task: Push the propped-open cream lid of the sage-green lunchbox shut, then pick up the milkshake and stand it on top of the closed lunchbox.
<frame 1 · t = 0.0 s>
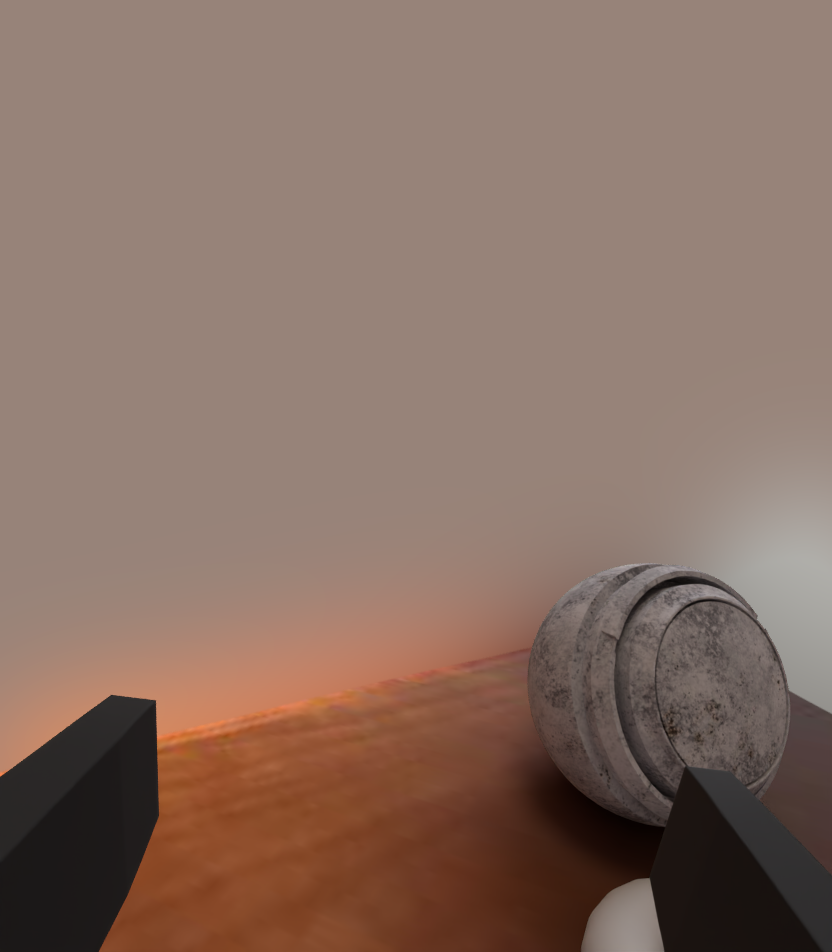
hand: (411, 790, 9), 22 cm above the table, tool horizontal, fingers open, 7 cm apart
decorative orb: (625, 791, 42), on the table
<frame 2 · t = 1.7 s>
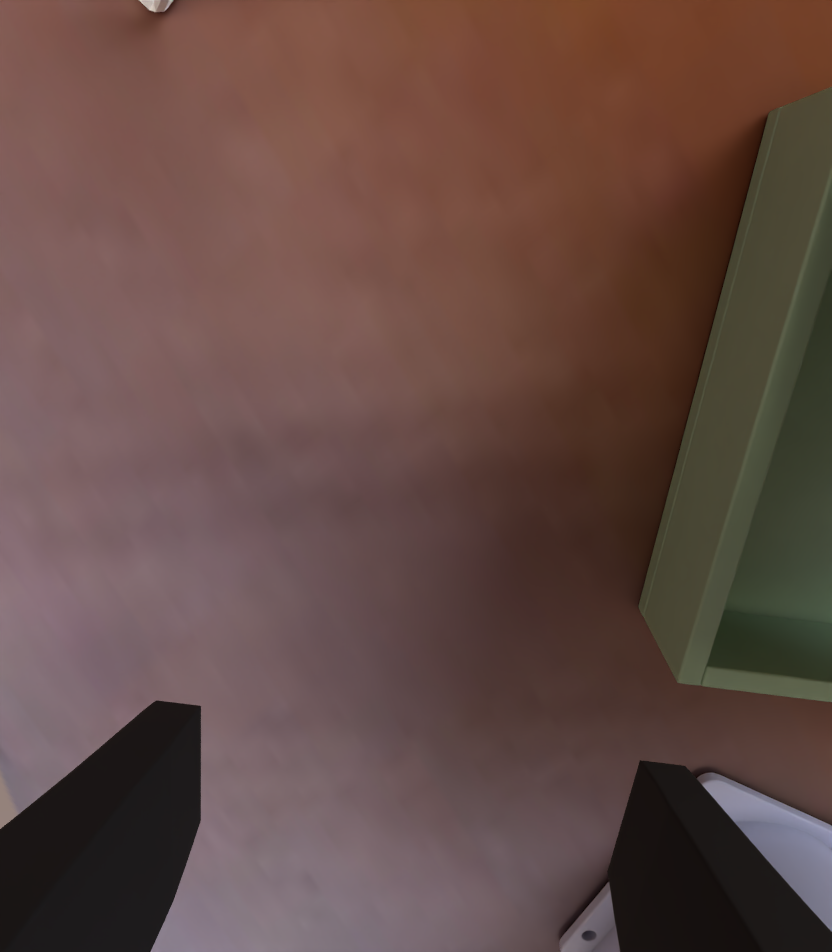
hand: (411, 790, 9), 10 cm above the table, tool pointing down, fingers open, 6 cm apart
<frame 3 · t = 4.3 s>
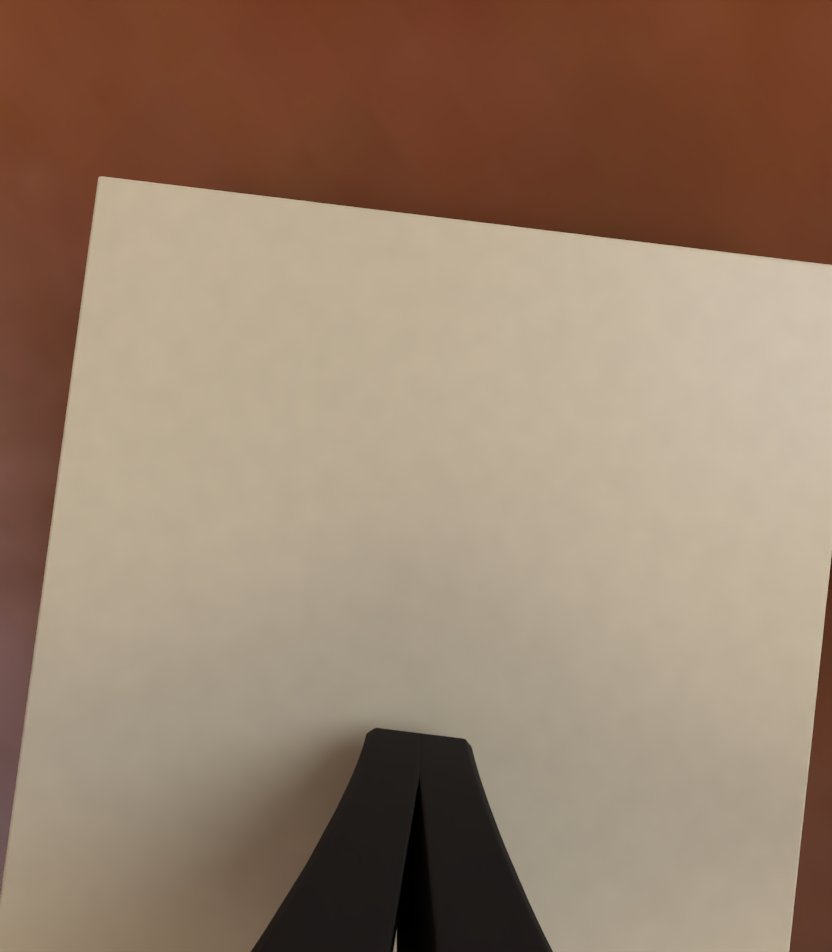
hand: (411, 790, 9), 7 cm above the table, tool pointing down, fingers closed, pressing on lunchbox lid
lunchbox lid: (421, 697, 10), point 6 cm above the table, hinge at 21.2°, touching gripper
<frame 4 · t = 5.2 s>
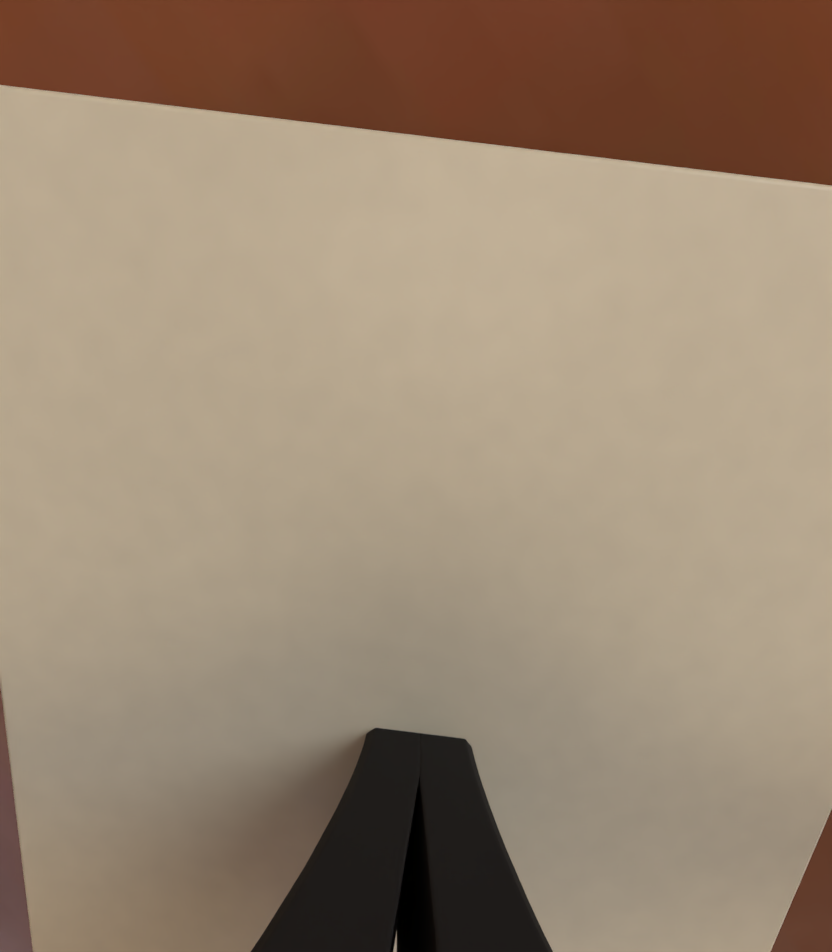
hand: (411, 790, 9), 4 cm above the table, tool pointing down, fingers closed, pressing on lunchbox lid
lunchbox lid: (420, 718, 9), point 4 cm above the table, hinge at 0.1°, touching gripper
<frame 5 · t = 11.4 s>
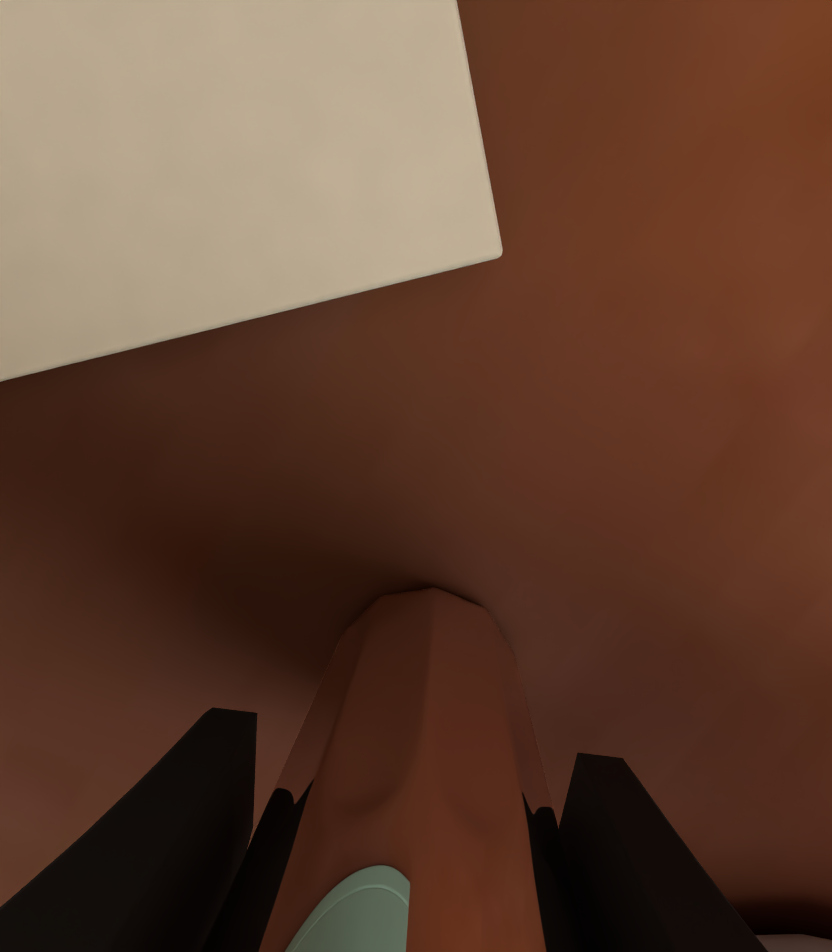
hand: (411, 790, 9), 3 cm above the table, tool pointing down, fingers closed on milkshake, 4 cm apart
milkshake: (415, 639, 12), on the table, touching gripper
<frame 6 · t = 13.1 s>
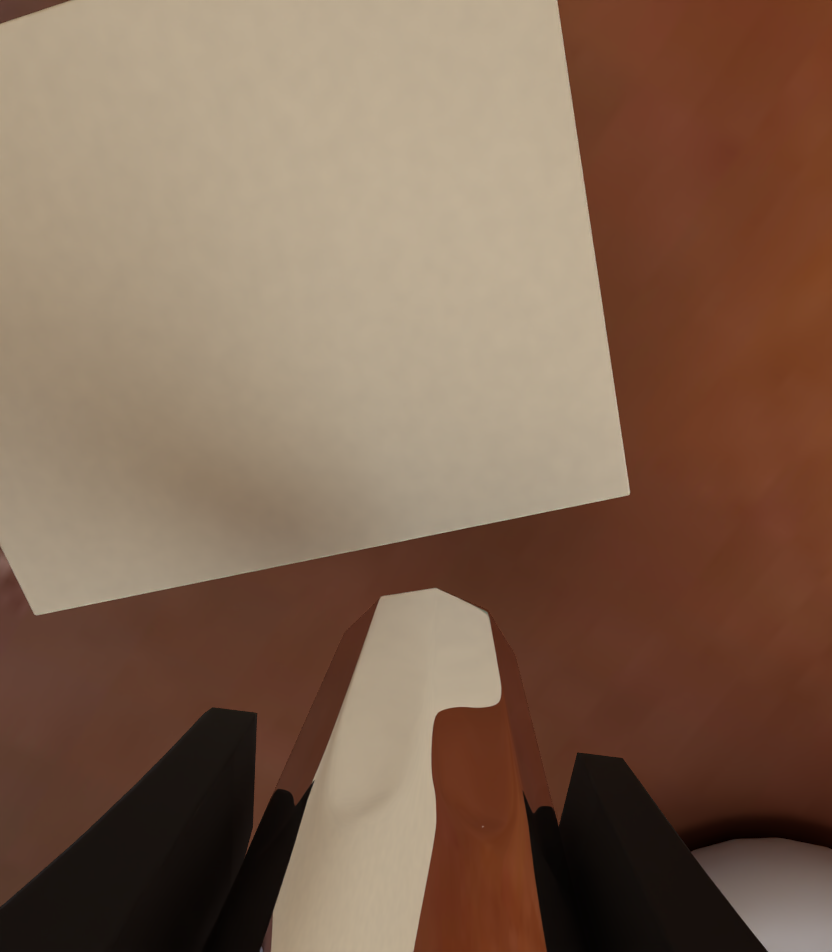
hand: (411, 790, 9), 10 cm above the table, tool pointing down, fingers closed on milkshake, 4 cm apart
milkshake: (416, 639, 12), point 7 cm above the table, touching gripper
donut: (741, 914, 24), on the table
lunchbox lid: (237, 308, 13), point 4 cm above the table, hinge at 0.0°
when the fingers open (8 cm above the table, at t = 15.0 s): milkshake stays where it is, resting on lunchbox lid.
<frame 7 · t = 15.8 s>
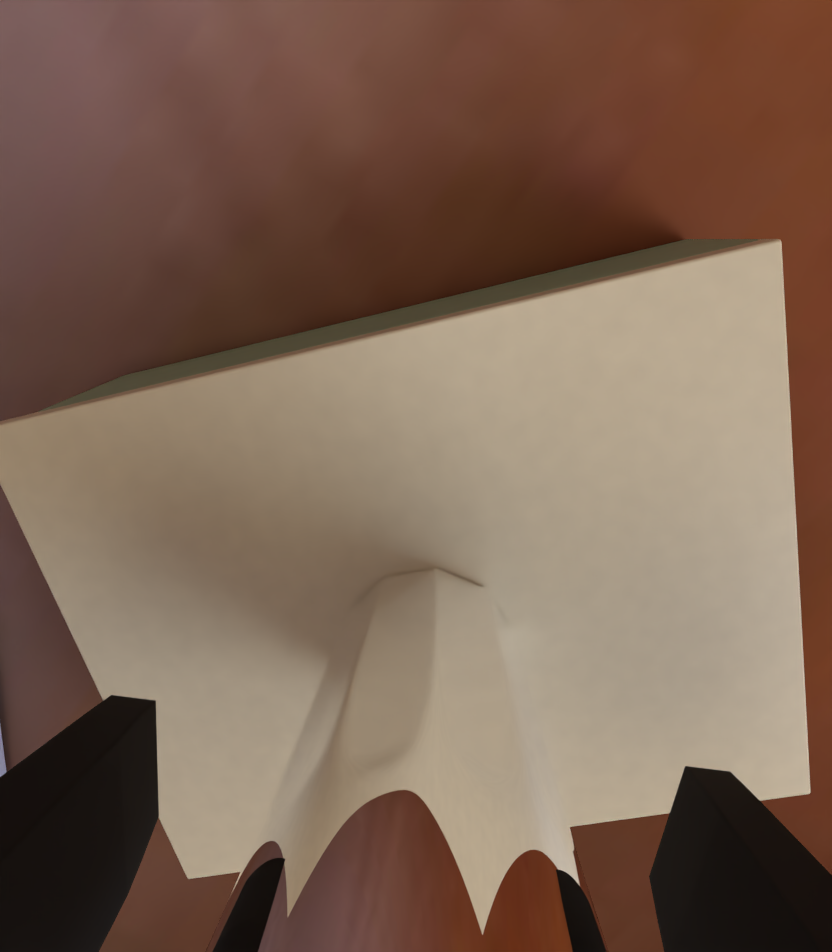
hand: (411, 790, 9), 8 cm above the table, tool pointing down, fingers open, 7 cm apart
milkshake: (417, 619, 13), point 4 cm above the table, touching lunchbox lid
lunchbox lid: (423, 617, 13), point 4 cm above the table, hinge at -0.2°, touching lunchbox, milkshake
lunchbox: (444, 531, 17), on the table
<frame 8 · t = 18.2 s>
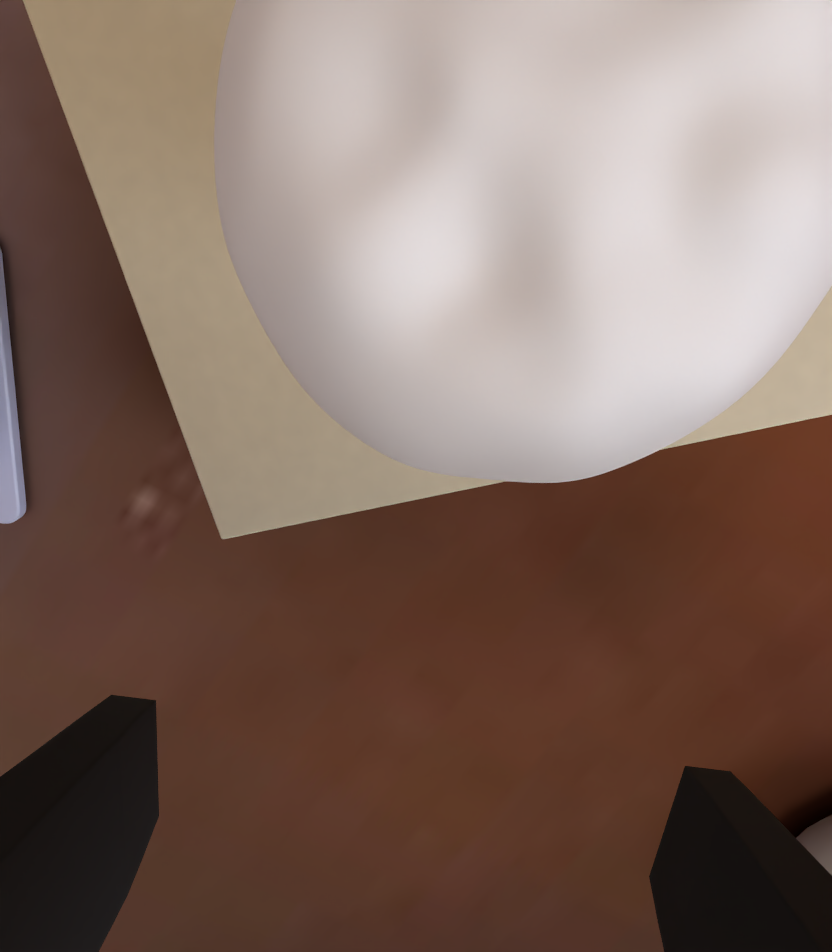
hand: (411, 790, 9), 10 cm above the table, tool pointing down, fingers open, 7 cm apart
milkshake: (470, 197, 12), point 4 cm above the table, touching lunchbox lid
lunchbox lid: (475, 199, 12), point 4 cm above the table, hinge at -0.2°, touching lunchbox, milkshake
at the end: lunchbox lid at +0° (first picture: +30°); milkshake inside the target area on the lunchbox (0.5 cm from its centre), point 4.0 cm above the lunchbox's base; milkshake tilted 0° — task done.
